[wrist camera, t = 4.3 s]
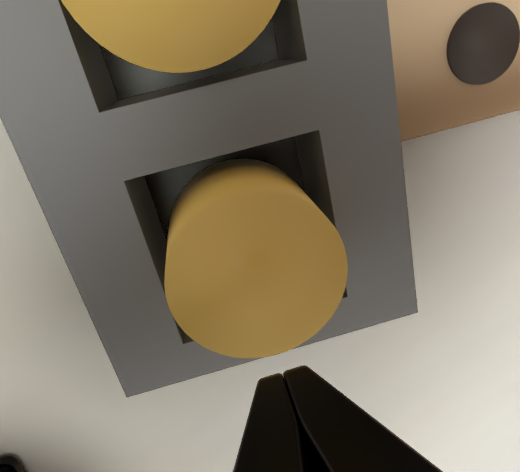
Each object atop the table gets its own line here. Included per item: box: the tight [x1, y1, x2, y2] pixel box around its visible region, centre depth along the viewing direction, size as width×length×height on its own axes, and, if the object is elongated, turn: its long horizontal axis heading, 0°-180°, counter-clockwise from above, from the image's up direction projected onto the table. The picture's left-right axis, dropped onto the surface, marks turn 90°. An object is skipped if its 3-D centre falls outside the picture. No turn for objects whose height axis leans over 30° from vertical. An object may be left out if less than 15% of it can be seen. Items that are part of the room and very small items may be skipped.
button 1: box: [164, 159, 348, 358], centre depth 14 cm, size 5×5×4 cm
